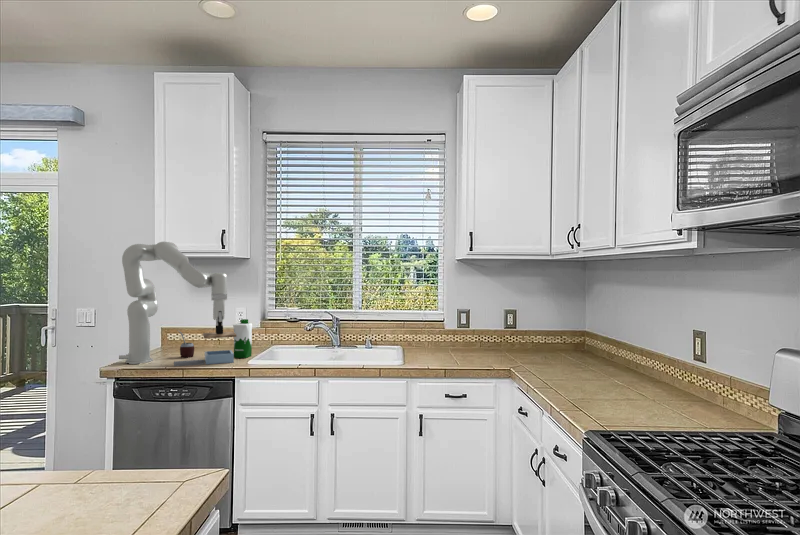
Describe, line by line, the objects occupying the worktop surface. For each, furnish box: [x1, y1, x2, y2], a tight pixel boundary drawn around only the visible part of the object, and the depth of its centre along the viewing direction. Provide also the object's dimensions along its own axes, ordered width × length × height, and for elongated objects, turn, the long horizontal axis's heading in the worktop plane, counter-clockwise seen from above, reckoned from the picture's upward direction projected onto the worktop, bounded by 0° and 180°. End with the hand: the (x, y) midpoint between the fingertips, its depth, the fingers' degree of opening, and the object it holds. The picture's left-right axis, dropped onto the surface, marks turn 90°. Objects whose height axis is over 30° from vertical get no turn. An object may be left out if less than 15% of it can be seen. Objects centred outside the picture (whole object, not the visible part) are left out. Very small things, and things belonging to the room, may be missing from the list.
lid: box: [202, 331, 236, 339], centre depth 261 cm, size 15×15×6 cm
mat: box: [173, 359, 206, 367], centre depth 256 cm, size 14×14×1 cm
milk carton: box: [232, 318, 253, 359], centre depth 277 cm, size 9×9×20 cm
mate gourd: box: [176, 329, 195, 359], centre depth 272 cm, size 8×8×15 cm
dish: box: [204, 349, 235, 365], centre depth 261 cm, size 13×13×5 cm
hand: (219, 333), depth 261 cm, fingers closed on lid, 2 cm apart
